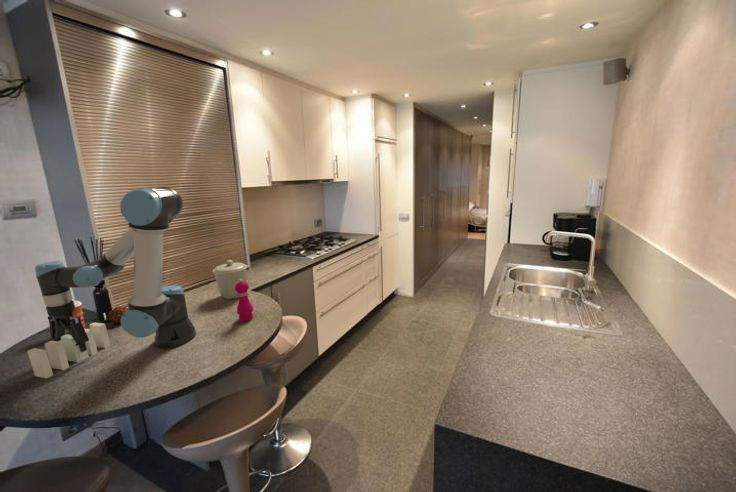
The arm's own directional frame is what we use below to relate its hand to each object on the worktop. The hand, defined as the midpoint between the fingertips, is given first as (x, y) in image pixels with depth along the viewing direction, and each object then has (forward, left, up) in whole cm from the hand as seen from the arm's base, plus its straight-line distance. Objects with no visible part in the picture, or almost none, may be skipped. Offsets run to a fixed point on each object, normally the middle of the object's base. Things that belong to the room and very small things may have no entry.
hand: (74, 356), depth 124 cm
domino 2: (0, +5, -1) cm, 5 cm away
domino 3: (0, 0, -1) cm, 1 cm away
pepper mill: (-44, -45, -1) cm, 63 cm away
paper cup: (+26, -17, -1) cm, 31 cm away
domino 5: (0, -10, -1) cm, 10 cm away
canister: (-18, -69, -1) cm, 71 cm away
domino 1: (0, +10, -1) cm, 10 cm away
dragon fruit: (+16, -29, -1) cm, 33 cm away
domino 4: (0, -5, -1) cm, 5 cm away
